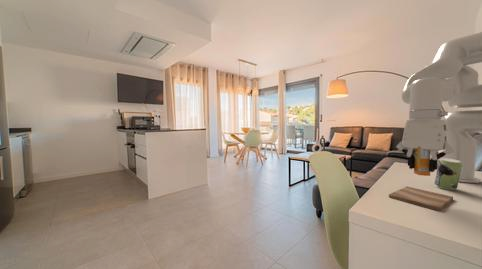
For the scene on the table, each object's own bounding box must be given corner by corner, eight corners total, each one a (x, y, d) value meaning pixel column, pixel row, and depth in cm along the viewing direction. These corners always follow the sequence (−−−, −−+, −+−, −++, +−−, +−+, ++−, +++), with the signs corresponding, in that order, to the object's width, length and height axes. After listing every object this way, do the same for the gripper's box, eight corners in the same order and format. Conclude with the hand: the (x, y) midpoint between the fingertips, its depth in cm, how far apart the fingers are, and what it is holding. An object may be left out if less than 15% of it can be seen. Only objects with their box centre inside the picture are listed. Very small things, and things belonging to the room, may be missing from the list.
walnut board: (406, 188, 71) (406, 186, 71) (453, 199, 61) (453, 196, 61) (388, 197, 63) (388, 194, 63) (438, 211, 52) (438, 207, 52)
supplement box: (412, 172, 63) (413, 144, 63) (424, 173, 62) (426, 145, 62) (417, 175, 60) (418, 145, 60) (430, 176, 59) (432, 146, 59)
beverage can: (446, 185, 74) (447, 157, 74) (466, 192, 67) (468, 160, 67) (429, 185, 75) (430, 156, 74) (447, 191, 68) (449, 160, 67)
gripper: (466, 115, 55) (463, 174, 56) (397, 117, 69) (395, 164, 70) (460, 114, 51) (456, 177, 52) (389, 116, 66) (386, 166, 66)
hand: (421, 169), depth 61 cm, fingers closed on supplement box, 4 cm apart
